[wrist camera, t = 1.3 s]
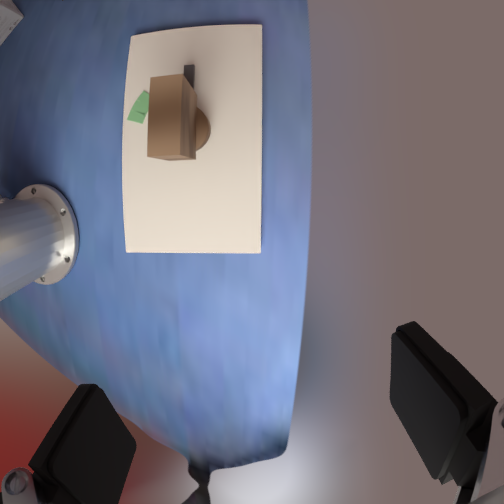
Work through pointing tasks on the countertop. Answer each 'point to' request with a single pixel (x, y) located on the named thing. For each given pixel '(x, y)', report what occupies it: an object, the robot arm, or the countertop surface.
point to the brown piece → (175, 118)
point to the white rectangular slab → (208, 157)
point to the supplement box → (8, 18)
